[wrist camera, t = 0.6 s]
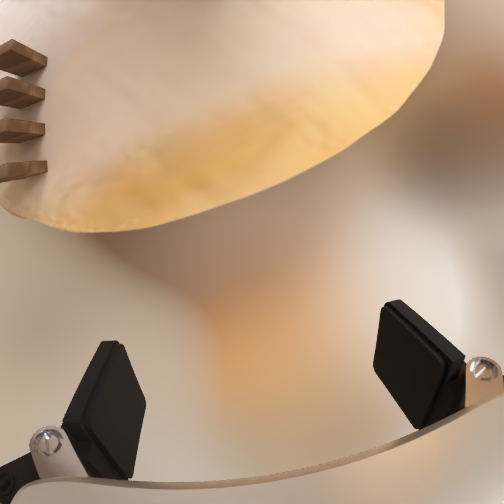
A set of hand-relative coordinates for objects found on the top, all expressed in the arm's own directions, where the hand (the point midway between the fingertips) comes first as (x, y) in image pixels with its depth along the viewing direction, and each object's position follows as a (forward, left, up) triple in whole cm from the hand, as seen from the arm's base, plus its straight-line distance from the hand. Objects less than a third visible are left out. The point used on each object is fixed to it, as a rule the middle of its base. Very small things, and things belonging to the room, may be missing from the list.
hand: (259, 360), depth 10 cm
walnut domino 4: (-10, -28, -30) cm, 42 cm away
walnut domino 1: (-27, -28, -30) cm, 49 cm away
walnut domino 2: (-21, -28, -30) cm, 46 cm away
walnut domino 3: (-16, -28, -30) cm, 44 cm away
